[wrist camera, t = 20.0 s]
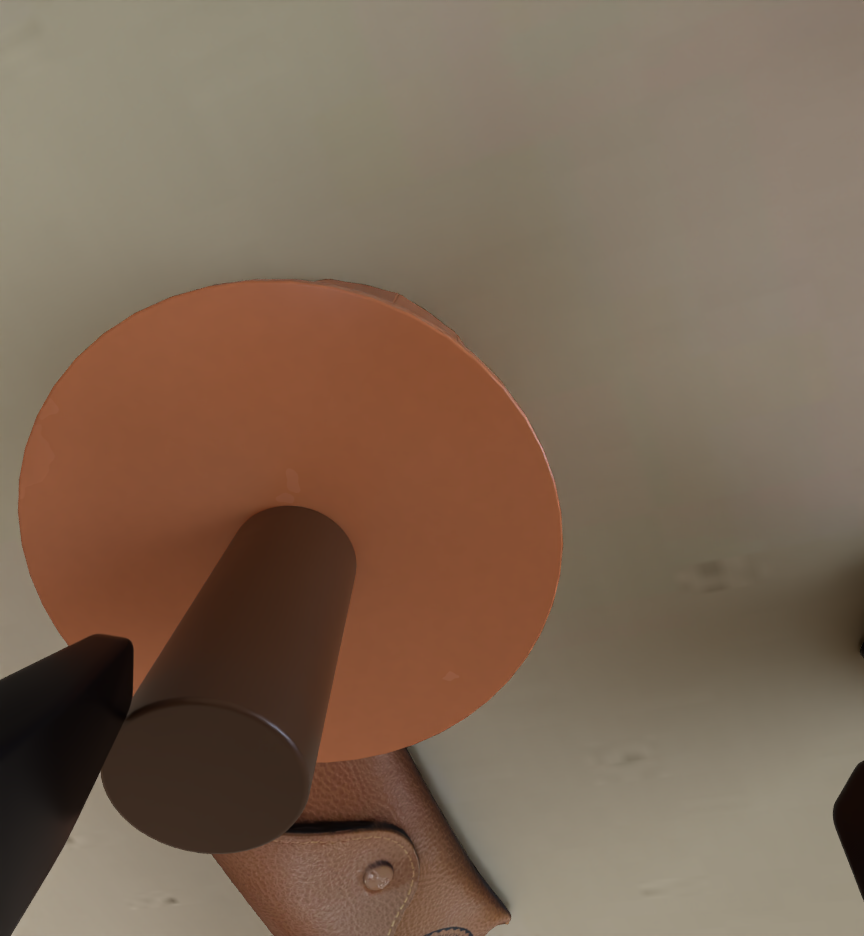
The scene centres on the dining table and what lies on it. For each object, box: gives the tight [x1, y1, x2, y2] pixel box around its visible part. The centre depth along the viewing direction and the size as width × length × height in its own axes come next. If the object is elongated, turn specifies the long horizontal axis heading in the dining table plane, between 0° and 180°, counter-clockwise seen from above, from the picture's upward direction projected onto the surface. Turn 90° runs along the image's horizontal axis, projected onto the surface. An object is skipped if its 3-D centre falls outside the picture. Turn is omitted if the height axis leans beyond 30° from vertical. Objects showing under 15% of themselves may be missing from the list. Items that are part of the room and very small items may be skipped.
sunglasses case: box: [212, 747, 511, 936], centre depth 24 cm, size 18×7×7 cm, turn 24°
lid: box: [18, 279, 563, 854], centre depth 11 cm, size 11×11×7 cm
